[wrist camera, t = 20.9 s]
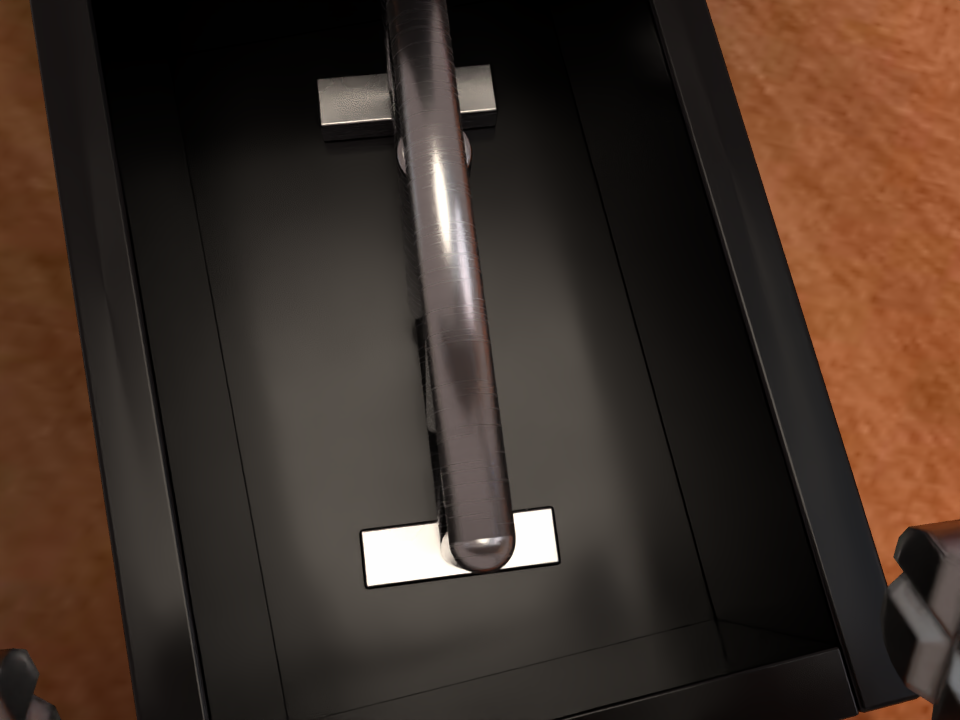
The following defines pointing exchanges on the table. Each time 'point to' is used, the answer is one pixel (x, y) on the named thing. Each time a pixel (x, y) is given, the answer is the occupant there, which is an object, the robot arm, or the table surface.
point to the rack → (441, 303)
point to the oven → (398, 385)
